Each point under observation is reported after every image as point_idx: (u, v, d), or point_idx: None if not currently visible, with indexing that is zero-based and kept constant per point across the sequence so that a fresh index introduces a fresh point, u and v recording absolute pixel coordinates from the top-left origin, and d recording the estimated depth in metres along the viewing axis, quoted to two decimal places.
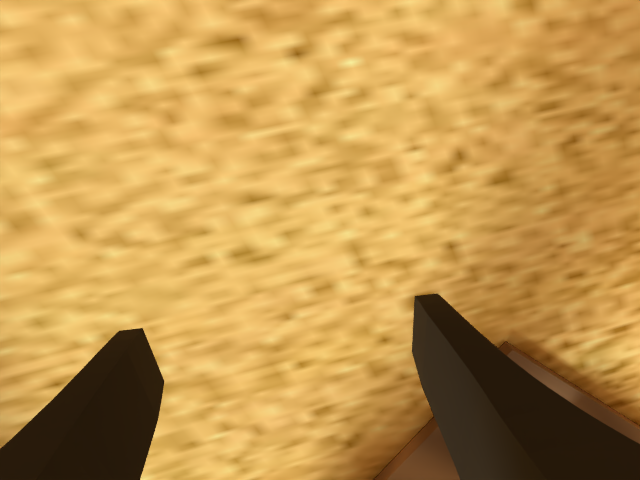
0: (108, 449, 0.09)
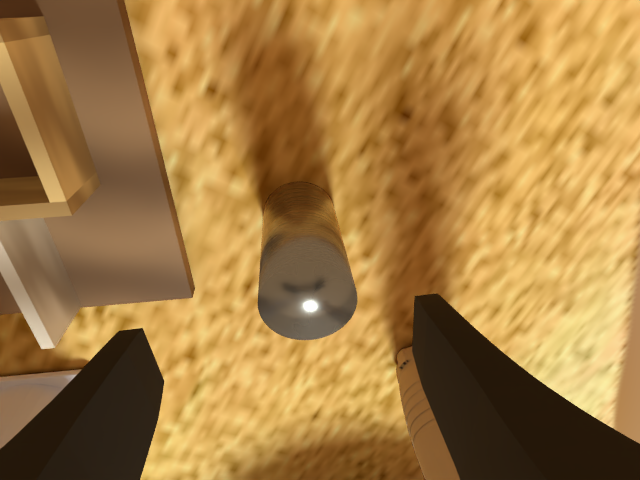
0: (108, 449, 0.09)
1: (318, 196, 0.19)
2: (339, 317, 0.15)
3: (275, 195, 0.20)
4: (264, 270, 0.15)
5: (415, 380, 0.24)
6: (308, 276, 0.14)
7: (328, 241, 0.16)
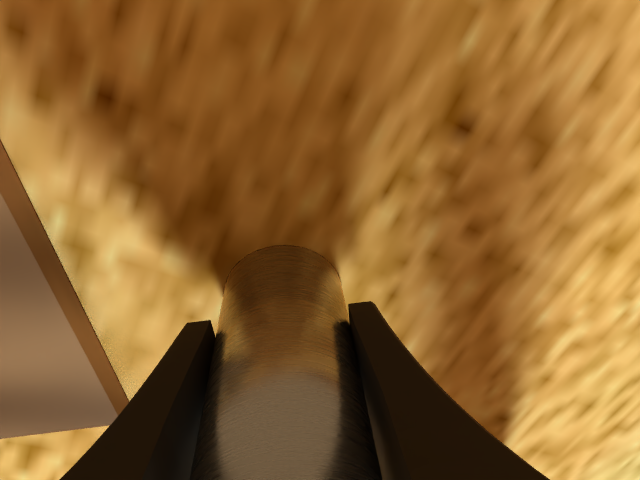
0: (192, 438, 0.09)
1: (312, 275, 0.11)
2: None
3: (238, 272, 0.11)
4: None
5: None
6: None
7: (330, 405, 0.08)
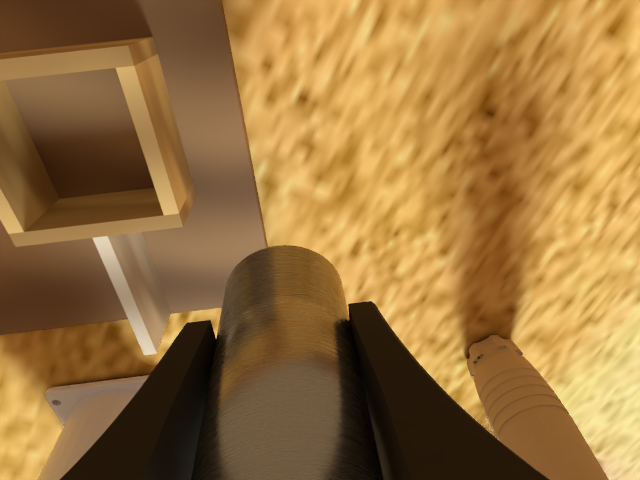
0: (192, 438, 0.09)
1: (313, 274, 0.11)
2: None
3: (239, 272, 0.11)
4: None
5: (494, 374, 0.24)
6: None
7: (331, 405, 0.08)
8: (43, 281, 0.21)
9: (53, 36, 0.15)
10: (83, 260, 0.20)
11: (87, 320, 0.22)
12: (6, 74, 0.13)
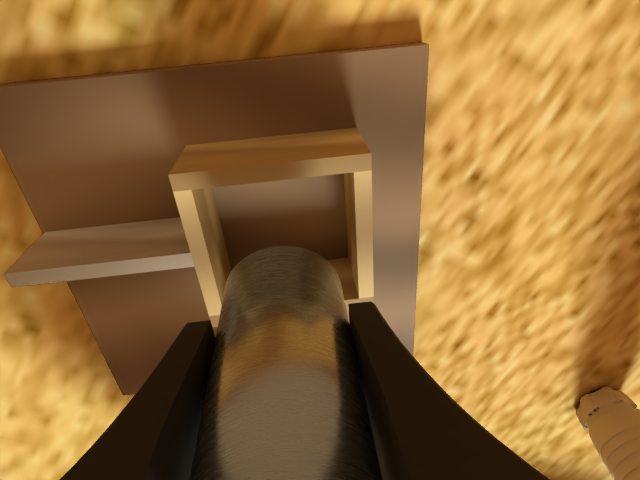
0: (192, 438, 0.09)
1: (310, 274, 0.11)
2: None
3: (237, 273, 0.11)
4: None
5: (618, 430, 0.24)
6: None
7: (328, 406, 0.07)
8: None
9: (263, 127, 0.16)
10: None
11: None
12: (251, 179, 0.14)
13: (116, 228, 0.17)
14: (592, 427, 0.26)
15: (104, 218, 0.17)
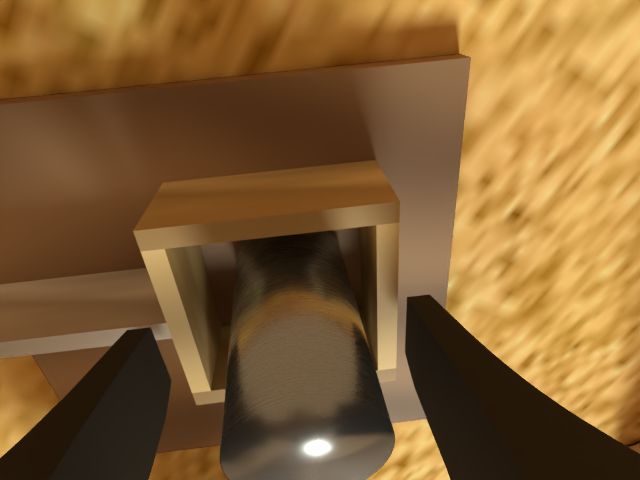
0: (118, 448, 0.09)
1: (317, 237, 0.13)
2: (363, 466, 0.09)
3: None
4: (230, 398, 0.09)
5: None
6: (308, 418, 0.08)
7: (340, 334, 0.09)
8: (182, 406, 0.18)
9: (259, 161, 0.13)
10: None
11: None
12: (242, 235, 0.10)
13: (78, 282, 0.14)
14: None
15: (64, 269, 0.14)
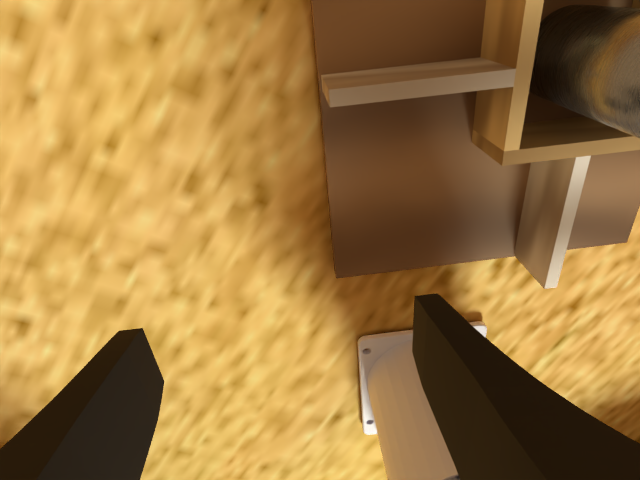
0: (108, 449, 0.09)
1: None
2: None
3: (556, 17, 0.16)
4: None
5: None
6: None
7: None
8: (425, 218, 0.21)
9: None
10: (474, 195, 0.20)
11: (444, 261, 0.22)
12: None
13: (398, 67, 0.17)
14: None
15: (383, 59, 0.17)
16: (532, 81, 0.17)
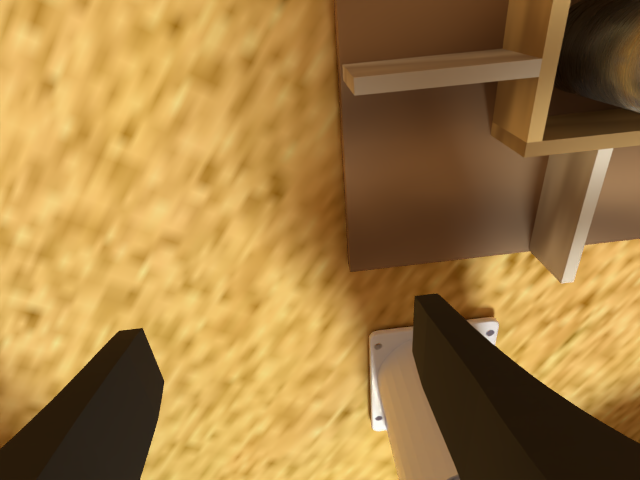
0: (108, 449, 0.09)
1: None
2: None
3: (581, 6, 0.16)
4: None
5: None
6: None
7: None
8: (442, 211, 0.21)
9: None
10: (491, 188, 0.20)
11: (458, 255, 0.22)
12: None
13: (421, 58, 0.16)
14: None
15: (405, 49, 0.17)
16: None
